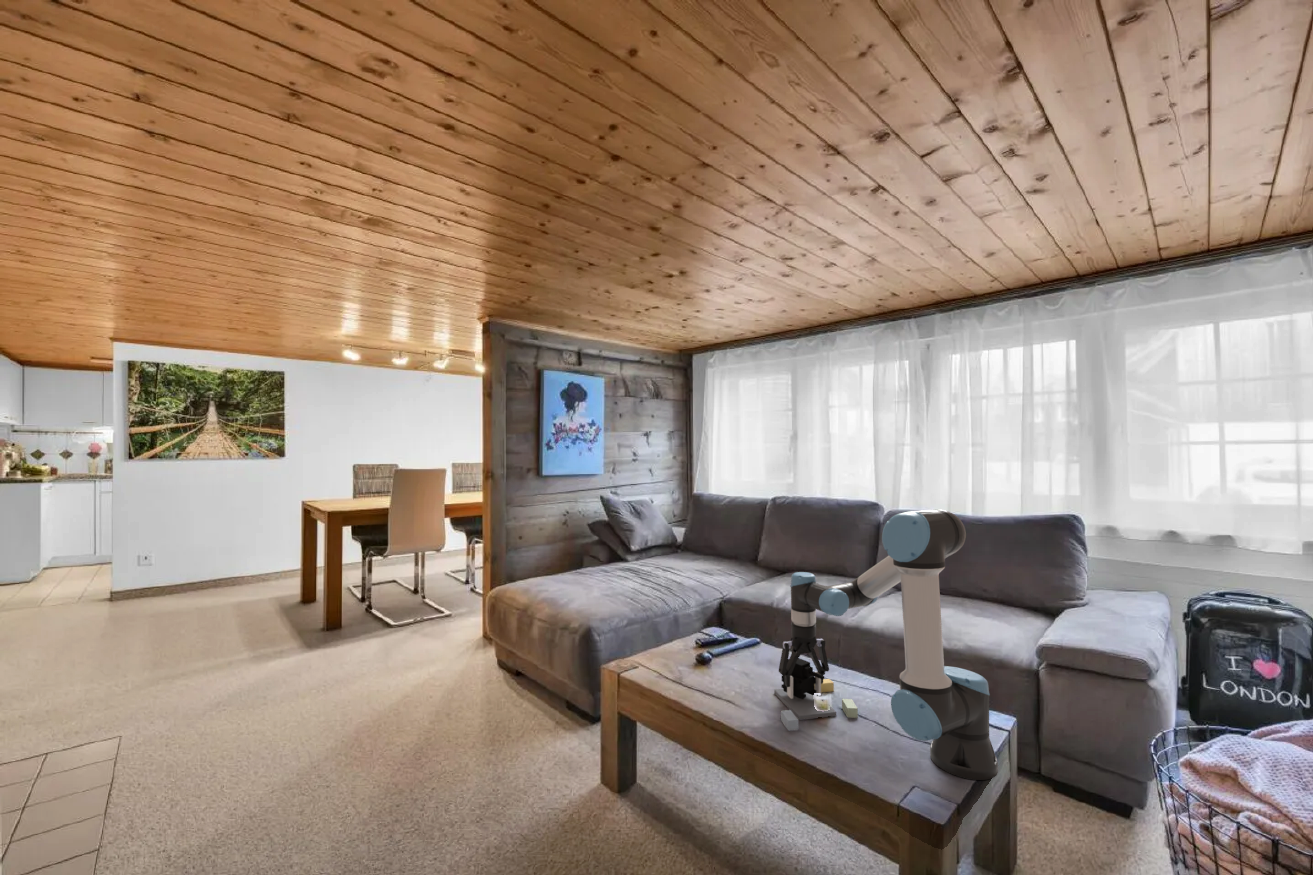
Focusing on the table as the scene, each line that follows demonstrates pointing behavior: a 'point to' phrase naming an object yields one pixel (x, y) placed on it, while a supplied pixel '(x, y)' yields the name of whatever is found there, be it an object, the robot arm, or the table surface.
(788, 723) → the dusty blue brick
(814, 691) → the toy
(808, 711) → the felt pad
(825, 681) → the mustard brick
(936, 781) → the table surface
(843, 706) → the sage brick
